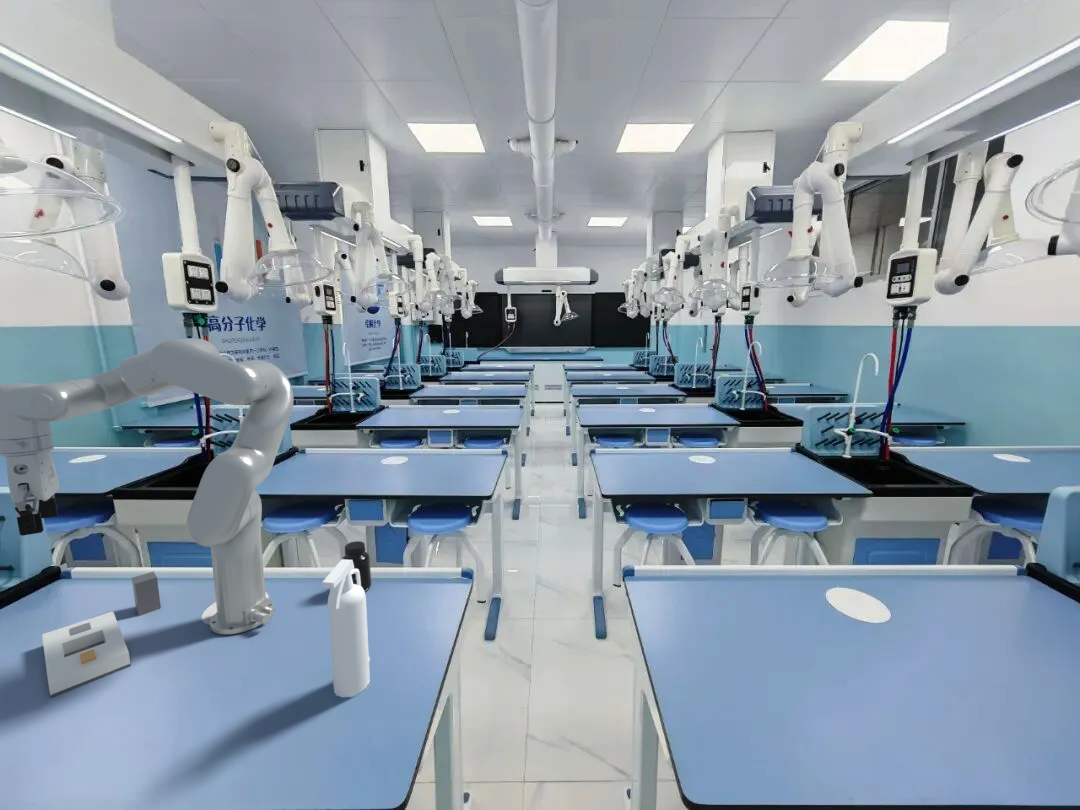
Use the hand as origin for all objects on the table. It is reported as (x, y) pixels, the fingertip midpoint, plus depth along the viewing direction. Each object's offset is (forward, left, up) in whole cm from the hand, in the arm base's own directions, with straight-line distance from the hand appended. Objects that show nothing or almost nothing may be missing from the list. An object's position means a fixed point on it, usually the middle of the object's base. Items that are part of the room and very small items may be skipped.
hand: (40, 525), depth 97 cm
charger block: (-6, -14, -25) cm, 30 cm away
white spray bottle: (-68, -14, -26) cm, 74 cm away
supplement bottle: (-45, -40, -26) cm, 65 cm away
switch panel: (-13, +1, -25) cm, 29 cm away
